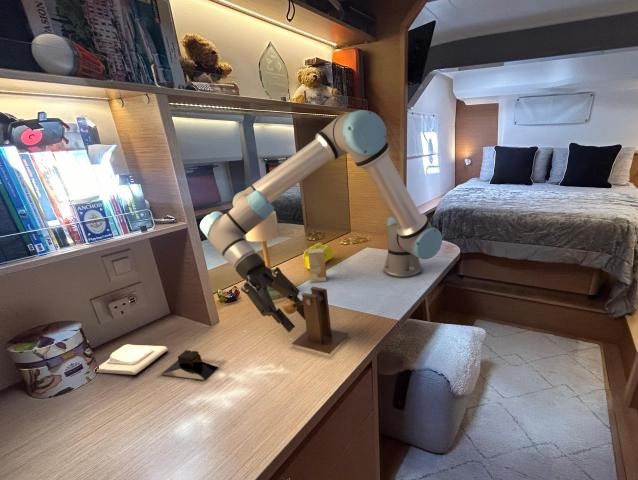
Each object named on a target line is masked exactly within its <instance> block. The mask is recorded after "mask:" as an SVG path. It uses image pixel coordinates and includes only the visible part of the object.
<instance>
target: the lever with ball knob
mask: <svg viewBox="0 0 638 480" xmlns="http://www.w3.org/2000/svg"><path fill="white" fill-rule="evenodd" d="M311 294H314V295H318V299H319V301H321V300H322V299H323V297H322V295H321V293H320V292H319V291H317V292H314V293H311ZM301 305H303V300H301V301H299V302H297V303H295V302H294V301H291V300H289V299H288V300H286V301H285V302H284V303H283V304H282V309H283V310H282V311H283V313H284V314H287V315H293V314H295V313H296V312H297V311H296V310H297V307H298V306H301Z"/></svg>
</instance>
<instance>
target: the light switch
mask: <svg viewBox="0 0 638 480" xmlns="http://www.w3.org/2000/svg"><path fill="white" fill-rule="evenodd" d="M167 351H169V349H168V347H167V346H164V345H144V344H143V345H142V344H128V343H127V344H124V345H123V346H120V348H118V349H116V350H115V351H113V352H112V353H111V354H110V355H109V358H108V359H107V360H106V361H104V362H103V363H101V364H100V365H98V366H99V369H97V371H96V372H95V373H101V374H102V373H104V374H117V375H119V374H121V375H132V376H135V375H137V374H138V373H139V372H141V371H142V370H144V369H145V368H146V367H148V366H149V365H150V364H152V363H153V362H154V361H156V360H157V359H158V358H159V357H161V356H162V355H163V354H164V353H166V352H167Z"/></svg>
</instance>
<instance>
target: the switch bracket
mask: <svg viewBox="0 0 638 480" xmlns="http://www.w3.org/2000/svg"><path fill="white" fill-rule="evenodd" d="M317 291H319V292H320V293H321V295H322V297H323V299H322V300H321V301H319V299H318V295H314V294H312V293H314V292H317ZM301 299H302V300H303V307H304V314H305V320H304V321H305V328H306V331H304V332H303V333H302V334H301V335H300V336H298V337H297V338H296V339H295V340H293V341H292V342H291V344H290V345H294V346H297V347H301V348H305V349H309V350H311V351H312V350H313V351H316V352H320V353H325V354H327V355H330V354H331V352H332V351H334V350H335V349H336V348H337V347H338V345H339V344H340V343H341V342H342V341H344V340H345V338H346V337H347V336H348V335H349V333H348V332H343V331H338V330H333V329H332V326H331V325H332V324H331V316H330V309H329V308H330V306H329V297H328V290H327V288H324V287H317V286H312V287H310V293H309V292H302V293H301ZM302 300H301V301H302Z"/></svg>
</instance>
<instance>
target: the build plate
mask: <svg viewBox="0 0 638 480" xmlns="http://www.w3.org/2000/svg"><path fill="white" fill-rule="evenodd" d="M201 356H202V355H201V354H200V353H199V351H198V350H188V349H185V350H184V351H183V352H181V353H180V354H179V355H178V356H177V360H176V361H175V362H174V363H173V364H171V365H170V366H169V367H168V368H166V369H165V370H164V371H163V372H162V373H161V376H162V377H163V376H164V377H171V378H180V379H185V380H186V379H187V380H194V381H196V382H204V381H207V380H208V378H209V377H211V376H212V374H213V373H214V372H215V371H216V370H217V369H218V368H219V366H217V365H213V364H210V363H207V362H205V361H203V360H202V359H203V358H202V357H201Z"/></svg>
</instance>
